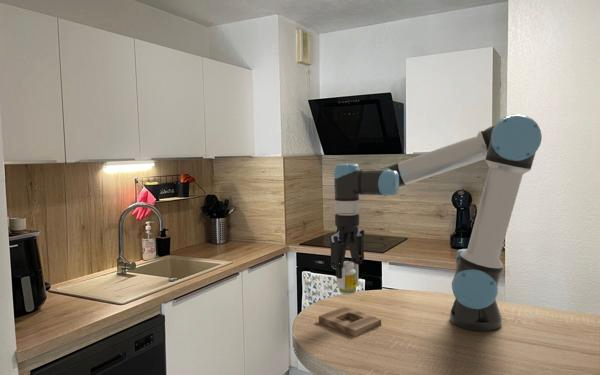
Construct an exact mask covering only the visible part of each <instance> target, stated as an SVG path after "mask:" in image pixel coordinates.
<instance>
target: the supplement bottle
mask: <svg viewBox="0 0 600 375" xmlns="http://www.w3.org/2000/svg"><path fill="white" fill-rule="evenodd" d="M353 267H354V263H353V262H352V260H351V261H349V260H344V264H343V268H345V289H341V288H338V290H339V293H340V294H342V295H346V296H347V295H355V294H356V293H357V285H356V270H355V269H354V268H353Z"/></svg>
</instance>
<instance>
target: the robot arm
mask: <svg viewBox="0 0 600 375" xmlns="http://www.w3.org/2000/svg"><path fill="white" fill-rule="evenodd" d="M542 136H543V135H542V130H541V128H540V126H539V124H538V123H537V122H536V121H535V120H534V119H533V118H532V117H529V116H527V115H523V114H517V113H515V114H509V115H506V116H504V117H502V118H501V119H499V120H498V121H497V122H496V123H495V124H493V125H491V126H489V127H487V128H485V129H481V130H479V132H478V133H477V135H474V136H472V137H469V138H466V139H462V140H460V141H457V142H455V143H451V144H448V145H445V146H443V147H440V148H437V149H435V150H431V151H428V152H426V153H423V154H419V155H417V156H414V157H411V158H409V159H406V160H402V161H400V162H397V163H394V164H391V165H388V166H385V167H382V168H380V169H377V170H375V169H373V170H371V169H369V170H363V169H360V167H359V164H357V163H338V164H336V165H335V166H334V178H333V180H334V181H333V182H334V183H333V184H334V212H335V215H334V224H335V226H336V231H335V233H334V234H331V235H329V241H330V266H331V268H335V276H336V277H335V278H336V281H337V283H336V284H337V285H336V286H337V287H336V288H338V289H339V288H341V289H345V268H343V264H344V261H345V258H346V257H345V256H346V252H347V248H349V253H350V258H351V262H353V263H354V267H353V268H354V269H355V270H356V286H358V285H359V273H360V265H362V264H363V261H364V260H365V250H364V246H365V245H364V235H365V230H363V229H359V228H358V226H359V225H360V214H359V212H360V196H363V195H364V196H365V195H366V196H369V195H370V196H384V197H388V196H397V194H398V193H399V189H400V187H403V186H406V185H410V184H412V183H415V182H419V181H422V180H425V179H428V178H431V177H435V176H438V175H440V174H443V173H446V172H450V171H453V170H456V169H459V168H462V167H466V166H469V165H471V164H474V163H477V162H481V161H484V160H485V162H486V164H487V166H488V170H487V175H486V178H485V182H484V186H483V188H482V193H481V197H480V201H479V205H478V208H477V212H476V215H475V219H474V222H473V223H474V224H473V227H472V231H471V234H470V238H469V242H468V246H467V248H462V249H458V250H457V251H456V256H455V260H456V262H455V271H454V276H453V278H452V281H451V289H452V293H453V297H454V301H453V304H452V306H451V310H450V315H449V316H450V317H449V318H450V322H451V323H452V324H453V325H455V326H457V327H459V328H462V329H465V330H468V331H469V330H470V331H477V332H479V331H480V332H488V331H495V330H498V329H499V328H501V327H502V325H503V324H502V320H503V318H502V315H501V311H500V309H499V305H498V303H497V300H496V299H497V298H498V293H499V291H498V290H499V289H498V287H499V286H498V285H499V282H500V278H501V276H502V275H501V274H502V272H503V268H504V263H503V262H502V261H501V258H500V257H501V253H502V249H503V245H504V242H505V238H506V236H507V231H508V228H509V224H510V221H511V218H512V213H513V210H514V206H515V203H516V199H517V196H518V193H519V189H520V185H521V182H522V179H523V175H524V174H526V173H528V172H530V171H531V170H532V166H533V163H534V160H535V156H536V152H537V151H538V150H539V148H540V146H541V143H542Z"/></svg>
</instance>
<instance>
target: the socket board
mask: <svg viewBox="0 0 600 375" xmlns="http://www.w3.org/2000/svg"><path fill="white" fill-rule="evenodd" d="M348 319H350V320H352V322H348V321H345V320H348ZM353 320H354V321H353ZM318 323H321V324H322V325H326V326H327V327H329V328H333V329H335V330H338V331H339V332H343V333H345V334H347V335H350V336H352V337H355V338H356V337H358V336H360V335H364V334H365V333H368V332H369V331H372V330H374V329H377V328H379V327H381V326H382V318H378V317H376V316H373V315H370V314H369V313H368V314H367V313H365V312H361V311H358V310H355V309H353V308H350V307H347V306H341V307H339V308H337V309H334V310H331V311H329V312H325V313H322V314H321V315H318Z"/></svg>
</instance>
